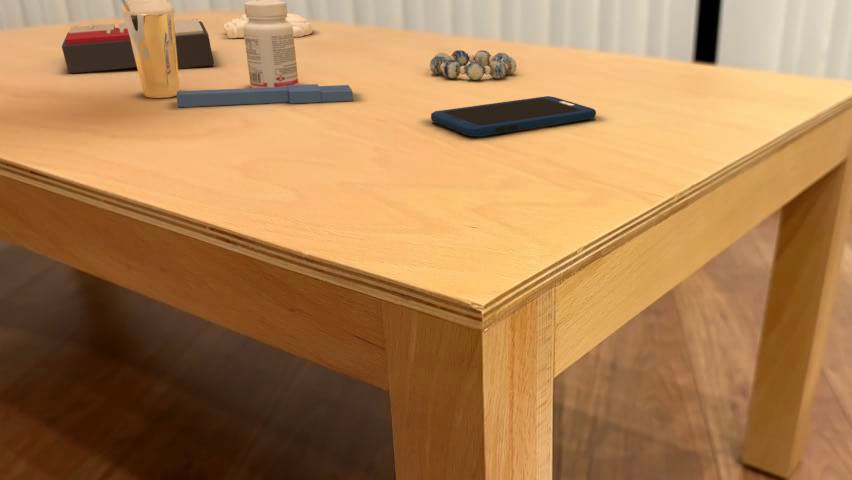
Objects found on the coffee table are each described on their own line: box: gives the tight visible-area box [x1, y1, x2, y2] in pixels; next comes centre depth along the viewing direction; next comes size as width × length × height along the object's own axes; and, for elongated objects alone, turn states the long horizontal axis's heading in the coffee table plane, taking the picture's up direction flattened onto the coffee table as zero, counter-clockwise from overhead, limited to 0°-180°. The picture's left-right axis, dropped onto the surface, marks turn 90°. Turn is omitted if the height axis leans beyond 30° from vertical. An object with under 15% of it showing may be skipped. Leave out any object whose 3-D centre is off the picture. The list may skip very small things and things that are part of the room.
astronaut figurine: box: [222, 12, 313, 39], centre depth 121 cm, size 9×12×3 cm
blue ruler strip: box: [175, 83, 354, 108], centre depth 83 cm, size 16×3×1 cm, turn 108°
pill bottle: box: [243, 0, 299, 88], centre depth 87 cm, size 5×5×8 cm
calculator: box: [61, 18, 215, 74], centre depth 99 cm, size 11×4×15 cm
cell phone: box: [430, 95, 597, 137], centre depth 78 cm, size 7×14×1 cm, turn 127°
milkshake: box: [120, 0, 181, 99], centre depth 82 cm, size 4×5×10 cm
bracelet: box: [429, 49, 517, 81], centre depth 98 cm, size 10×10×2 cm
